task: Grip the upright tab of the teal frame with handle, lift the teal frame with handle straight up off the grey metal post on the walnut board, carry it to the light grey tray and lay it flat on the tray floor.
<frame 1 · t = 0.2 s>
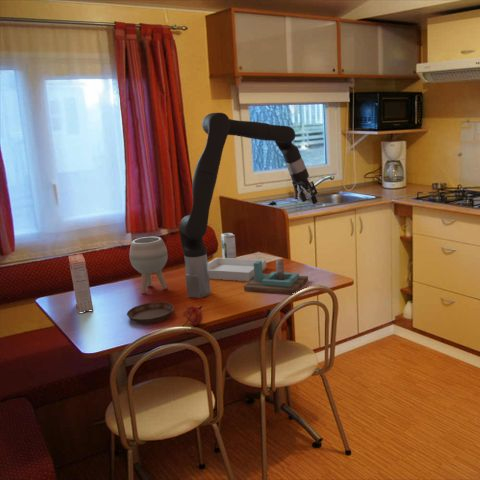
hand: (310, 202, 242), 31 cm above the table, tool tilted 20°, fingers open, 8 cm apart
tray: (232, 272, 253), on the table
stake board: (276, 285, 230), on the table
syrup box: (229, 262, 270), on the table
teal frame with handle: (280, 281, 228), point 2 cm above the table, touching stake board
pomegranate: (193, 325, 195), on the table
plant saucer: (151, 317, 206), on the table
planter: (152, 289, 238), on the table
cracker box: (84, 307, 222), on the table
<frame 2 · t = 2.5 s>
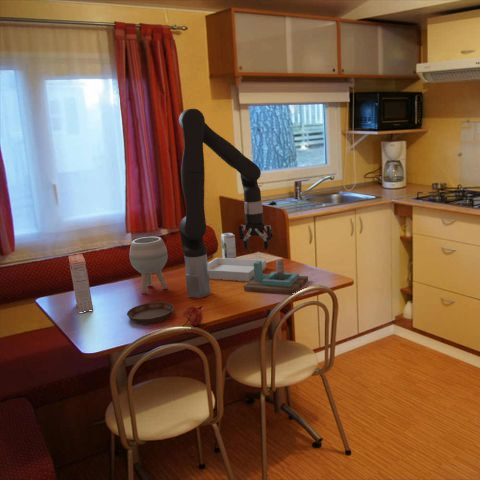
hand: (256, 249, 230), 16 cm above the table, tool pointing down, fingers open, 8 cm apart
nothing on the table moved.
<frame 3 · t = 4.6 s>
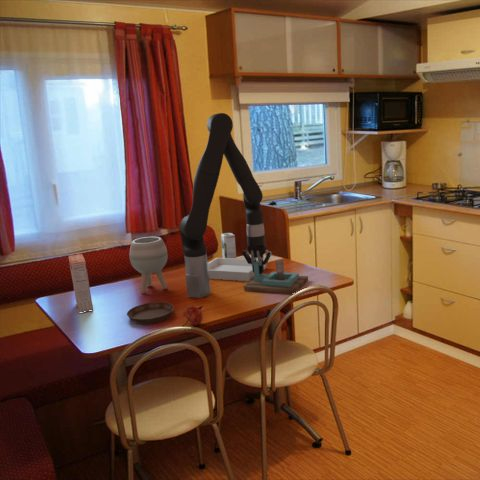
hand: (258, 273, 232), 5 cm above the table, tool pointing down, fingers closed on teal frame with handle
teal frame with handle: (280, 281, 228), point 2 cm above the table, touching gripper, stake board
everything else where it was.
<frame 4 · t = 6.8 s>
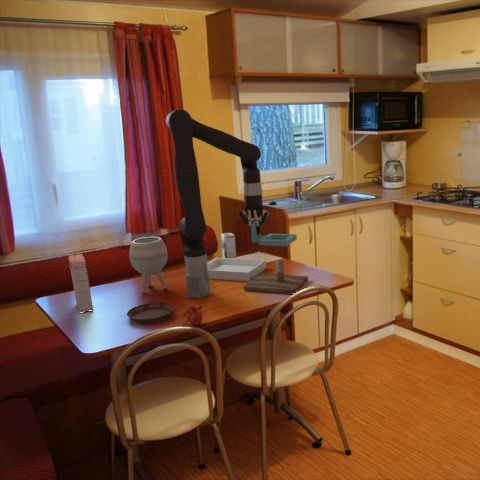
hand: (255, 234, 228), 22 cm above the table, tool pointing down, fingers closed on teal frame with handle
teal frame with handle: (278, 242, 224), point 19 cm above the table, touching gripper
everything else where it was.
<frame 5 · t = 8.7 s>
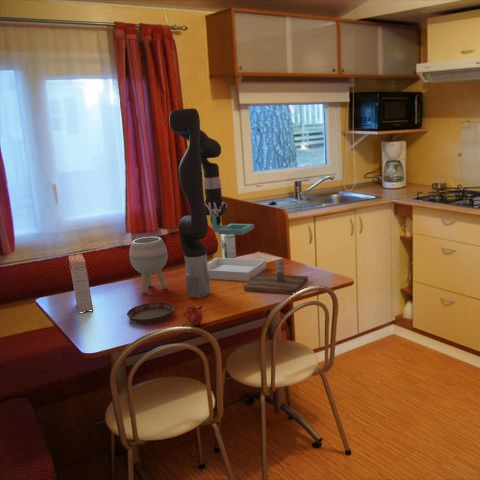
hand: (216, 224, 248), 23 cm above the table, tool pointing down, fingers closed on teal frame with handle
teal frame with handle: (236, 231, 245), point 20 cm above the table, touching gripper
everything else where it was.
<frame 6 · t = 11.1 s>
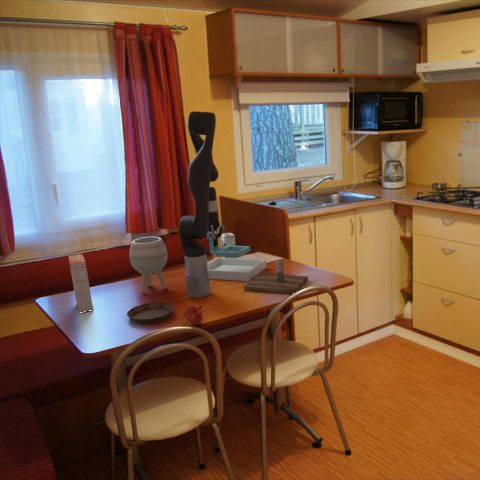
hand: (213, 246, 253), 13 cm above the table, tool pointing down, fingers closed on teal frame with handle
teal frame with handle: (233, 253, 250), point 9 cm above the table, touching gripper
everything else where it was.
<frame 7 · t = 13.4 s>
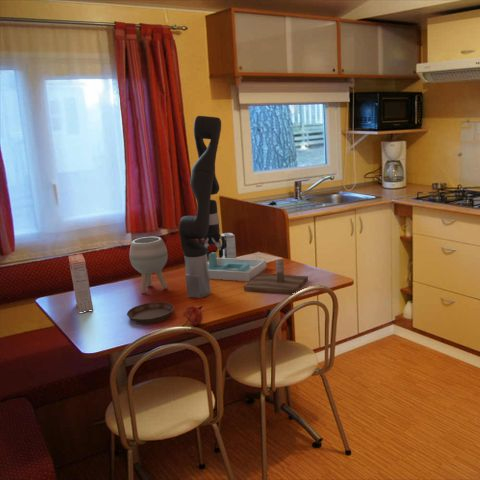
hand: (213, 257, 255), 7 cm above the table, tool pointing down, fingers open, 7 cm apart
teal frame with handle: (232, 270, 252), point 1 cm above the table, touching tray
everything else where it was.
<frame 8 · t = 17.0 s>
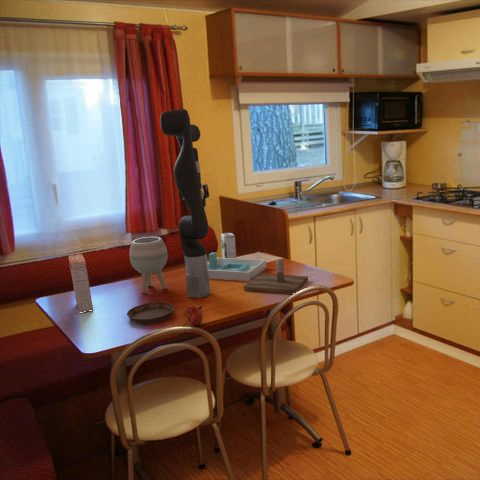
hand: (195, 207, 245), 32 cm above the table, tool pointing down, fingers open, 8 cm apart
nothing on the table moved.
at the end: teal frame with handle inside the target area on the tray (1.2 cm from its centre), point 1.0 cm above the tray's base; teal frame with handle tilted 0°; the gripper is holding nothing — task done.
